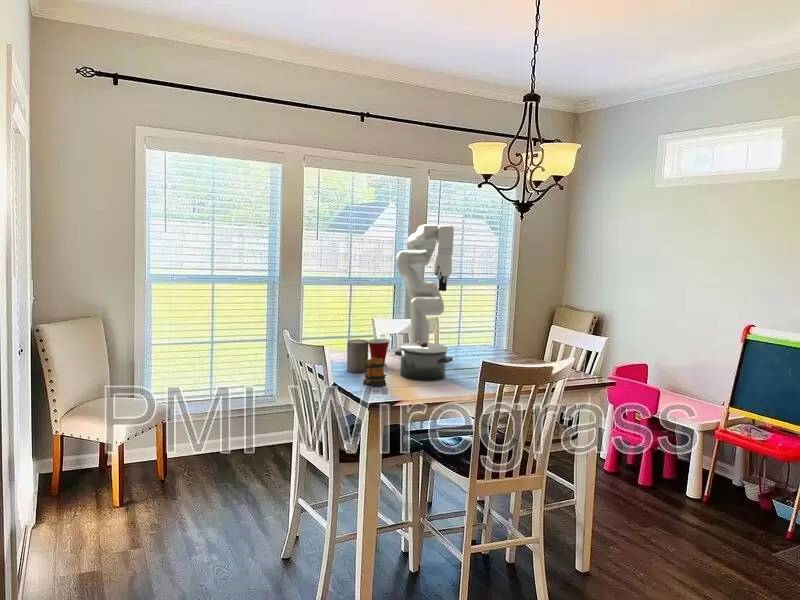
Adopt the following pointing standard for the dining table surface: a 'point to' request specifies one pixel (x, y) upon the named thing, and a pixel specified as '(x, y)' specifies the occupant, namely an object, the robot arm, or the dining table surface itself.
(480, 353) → the dining table surface
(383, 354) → the plastic cup
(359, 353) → the pillar candle
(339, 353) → the dining table surface
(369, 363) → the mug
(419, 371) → the pot
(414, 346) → the lid
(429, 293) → the robot arm
